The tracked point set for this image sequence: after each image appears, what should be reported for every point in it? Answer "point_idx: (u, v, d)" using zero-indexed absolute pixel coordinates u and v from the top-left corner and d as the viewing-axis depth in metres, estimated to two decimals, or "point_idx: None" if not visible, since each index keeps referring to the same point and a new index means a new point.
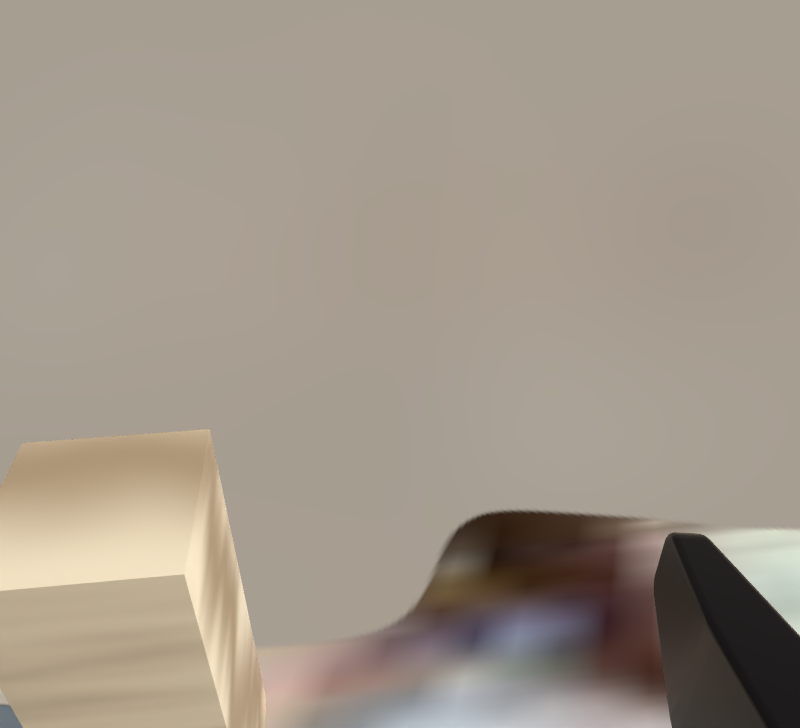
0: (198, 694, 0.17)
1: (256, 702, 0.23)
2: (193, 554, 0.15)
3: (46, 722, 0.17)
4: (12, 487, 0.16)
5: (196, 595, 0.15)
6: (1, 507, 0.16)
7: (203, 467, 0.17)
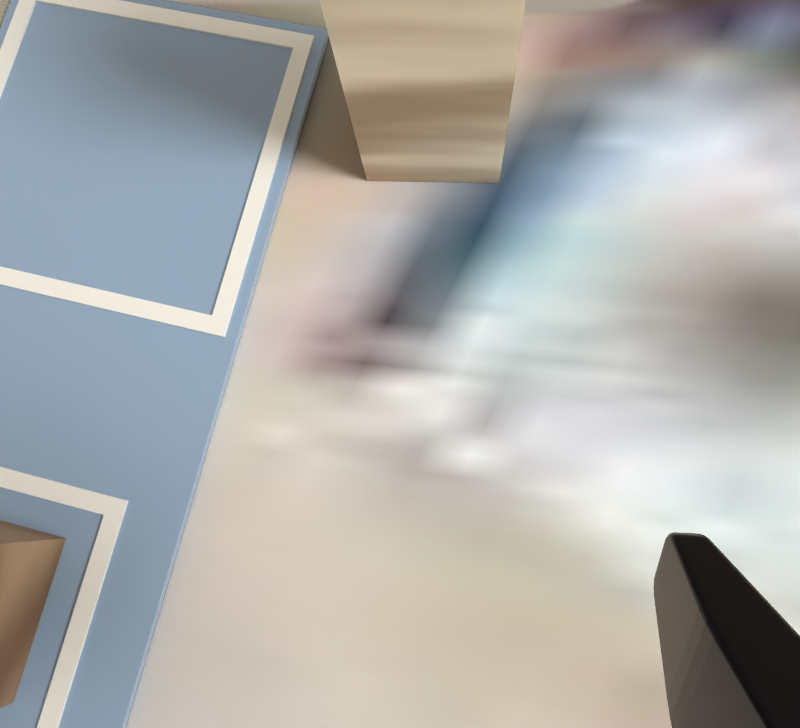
0: (502, 35, 0.17)
1: None
2: None
3: (354, 47, 0.17)
4: None
5: None
6: None
7: None
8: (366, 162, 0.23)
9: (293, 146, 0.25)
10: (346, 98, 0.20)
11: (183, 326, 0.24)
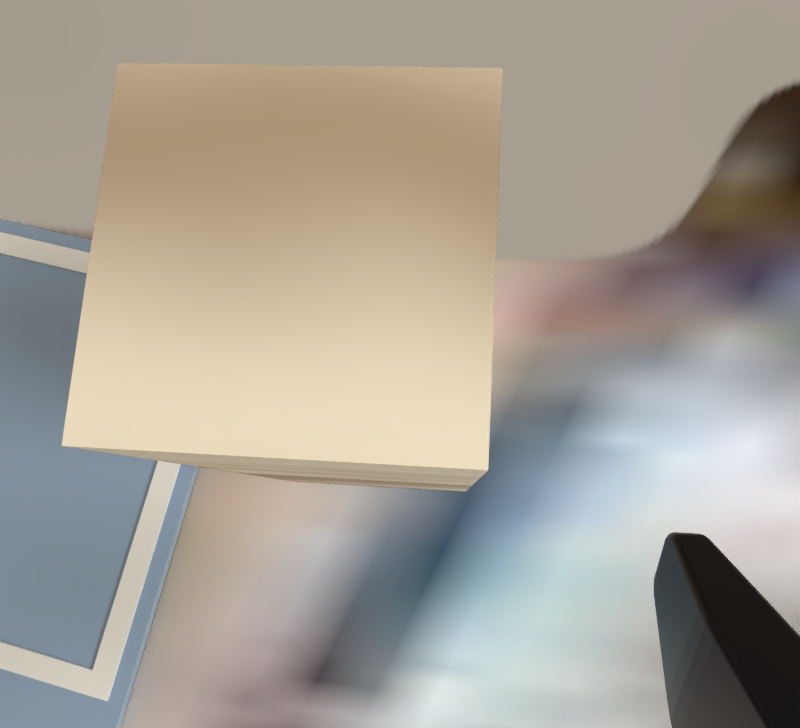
0: (448, 481, 0.11)
1: None
2: None
3: (238, 470, 0.12)
4: (122, 186, 0.08)
5: None
6: (112, 239, 0.08)
7: (498, 181, 0.08)
8: (291, 480, 0.18)
9: None
10: (245, 473, 0.14)
11: (55, 683, 0.18)
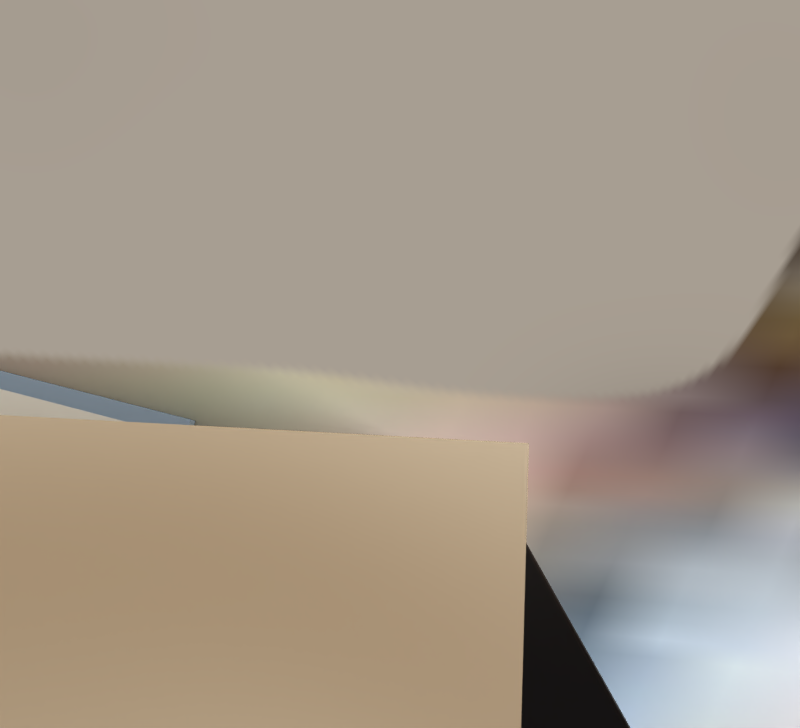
0: None
1: None
2: None
3: None
4: None
5: None
6: None
7: (520, 714, 0.04)
8: None
9: None
10: None
11: None
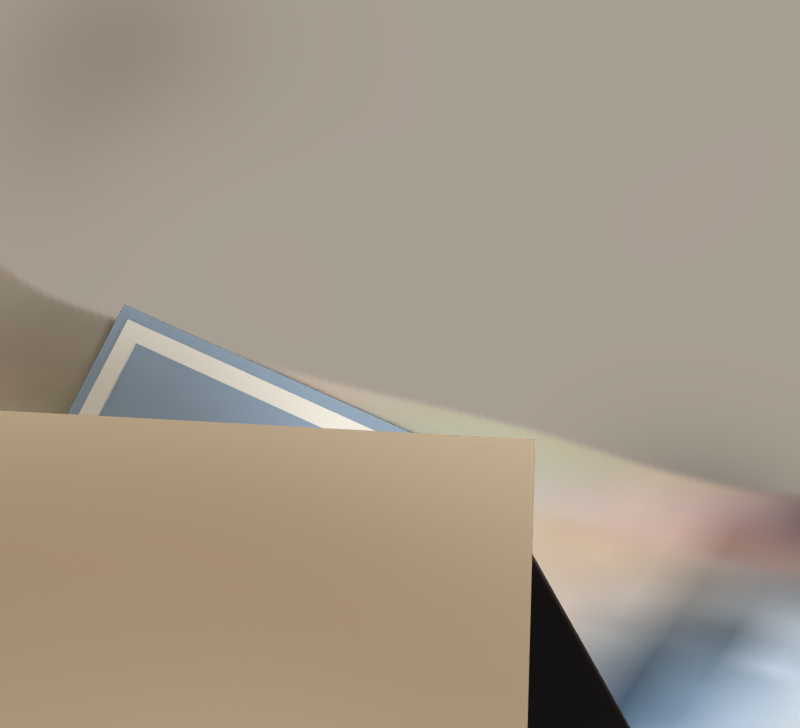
0: None
1: None
2: None
3: None
4: None
5: None
6: None
7: (527, 710, 0.04)
8: None
9: None
10: None
11: None
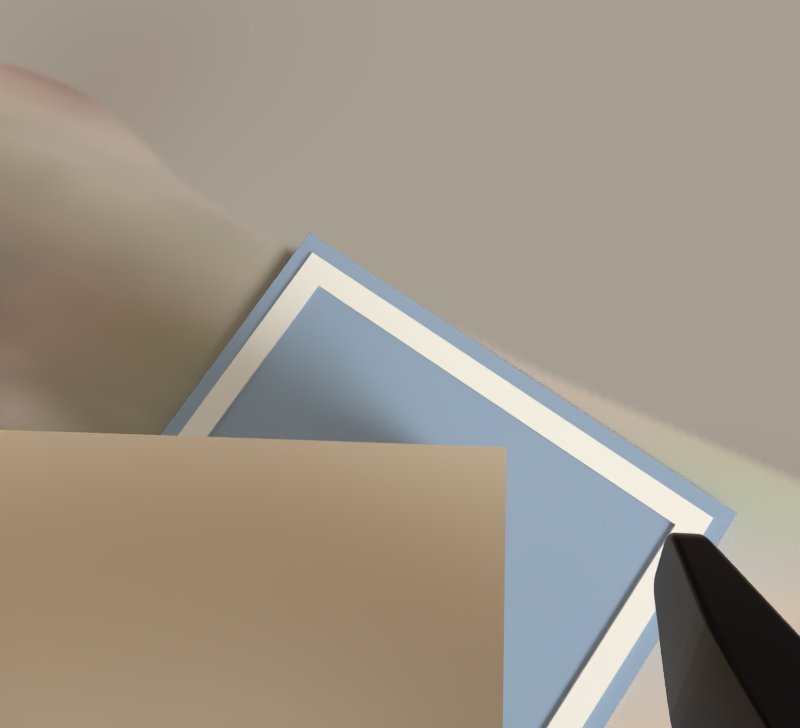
0: None
1: None
2: None
3: None
4: None
5: None
6: None
7: (503, 652, 0.05)
8: None
9: (626, 690, 0.16)
10: None
11: None
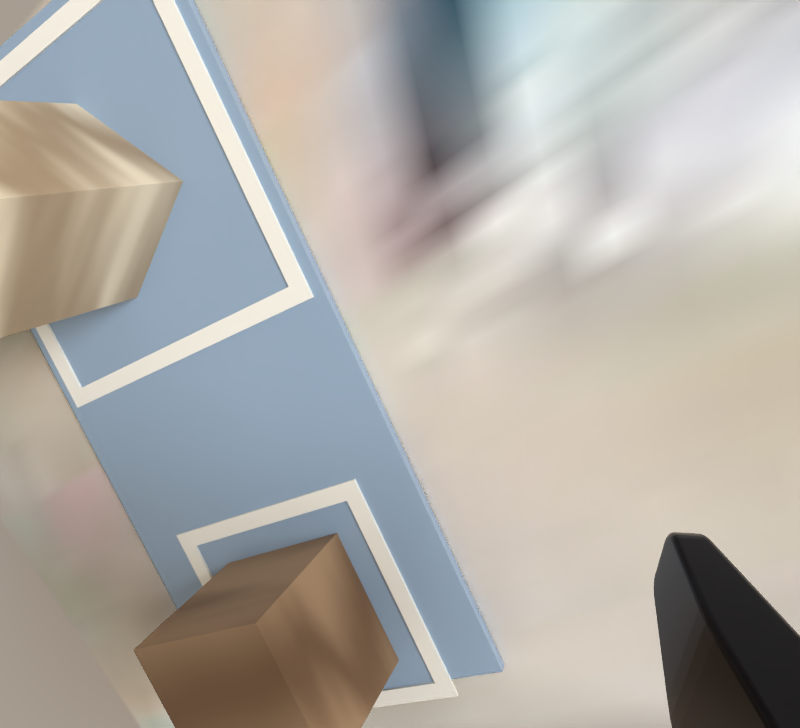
0: None
1: (57, 125, 0.21)
2: None
3: None
4: None
5: None
6: None
7: None
8: (109, 302, 0.23)
9: (221, 70, 0.21)
10: (9, 334, 0.20)
11: (276, 313, 0.22)
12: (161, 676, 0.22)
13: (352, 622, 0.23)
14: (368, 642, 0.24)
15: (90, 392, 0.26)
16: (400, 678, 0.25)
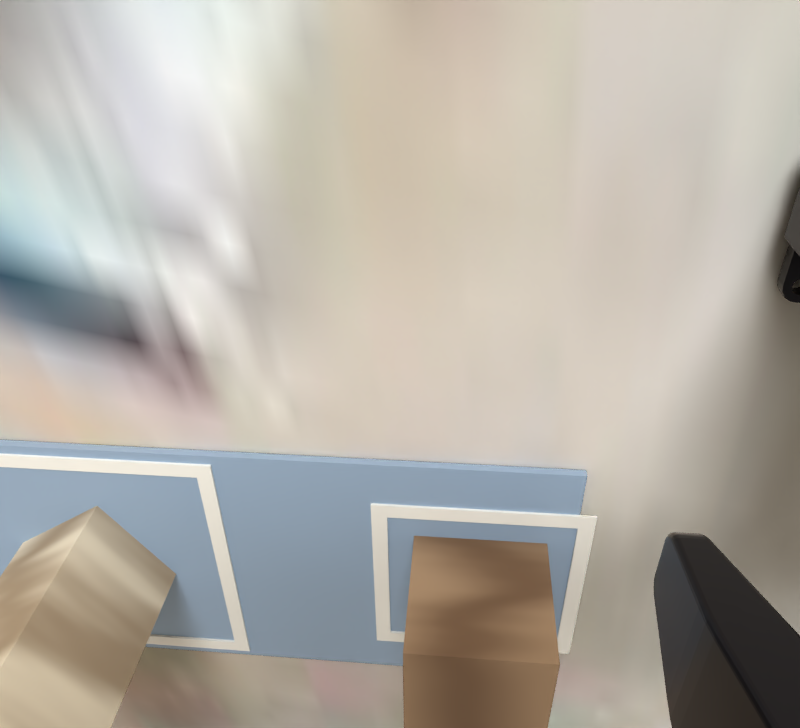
0: None
1: (18, 571, 0.28)
2: None
3: None
4: None
5: None
6: None
7: None
8: (162, 599, 0.29)
9: (23, 446, 0.27)
10: (126, 688, 0.26)
11: (215, 494, 0.27)
12: None
13: (481, 567, 0.26)
14: (508, 563, 0.26)
15: (241, 637, 0.32)
16: (565, 550, 0.27)
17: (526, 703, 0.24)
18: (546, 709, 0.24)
